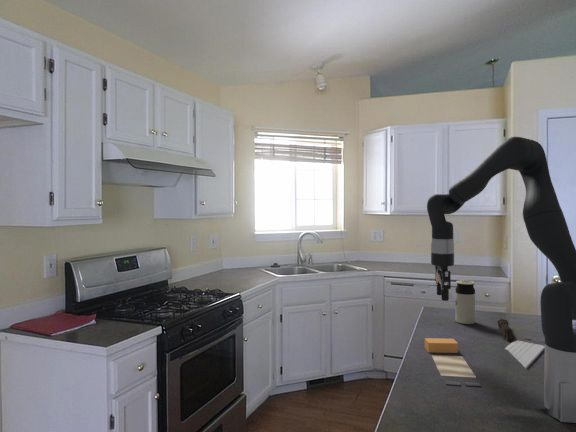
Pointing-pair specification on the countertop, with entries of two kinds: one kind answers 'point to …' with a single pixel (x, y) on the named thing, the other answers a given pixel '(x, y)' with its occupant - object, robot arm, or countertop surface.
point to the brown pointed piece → (505, 329)
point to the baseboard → (525, 351)
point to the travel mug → (465, 302)
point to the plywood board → (452, 366)
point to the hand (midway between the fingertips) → (442, 297)
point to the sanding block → (441, 345)
